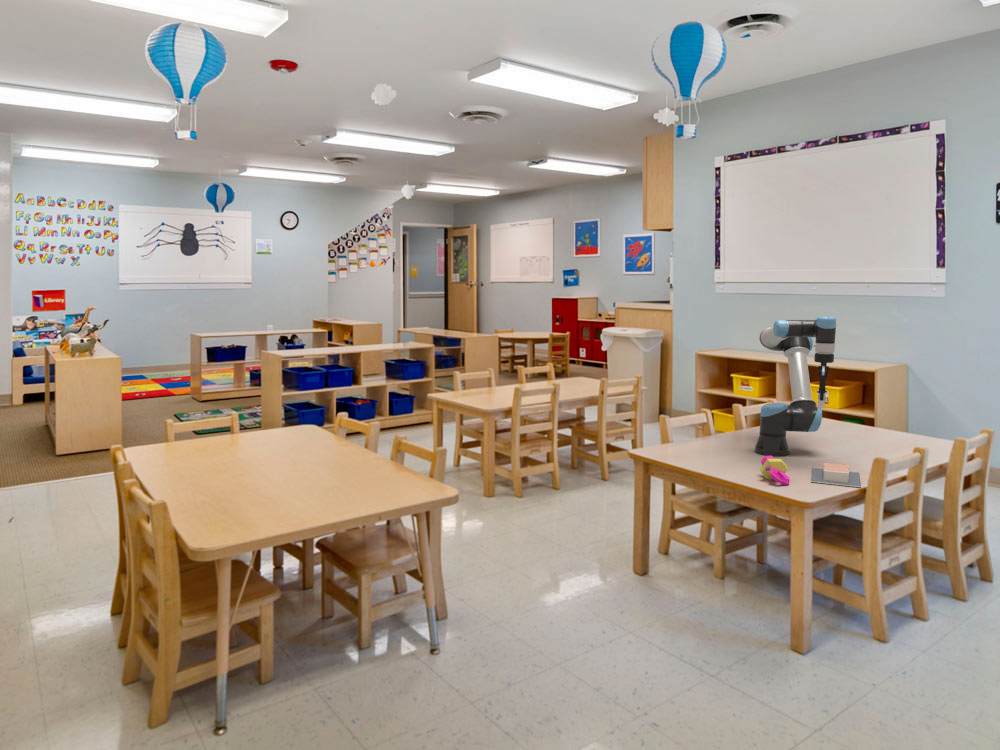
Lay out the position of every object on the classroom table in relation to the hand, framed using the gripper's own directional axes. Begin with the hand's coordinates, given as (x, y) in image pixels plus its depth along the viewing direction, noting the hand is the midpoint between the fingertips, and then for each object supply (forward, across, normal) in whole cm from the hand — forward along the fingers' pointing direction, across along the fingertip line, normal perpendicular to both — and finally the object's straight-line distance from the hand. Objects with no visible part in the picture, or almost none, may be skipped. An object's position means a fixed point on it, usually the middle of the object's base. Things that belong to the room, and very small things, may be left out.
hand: (821, 407), depth 300 cm
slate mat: (+26, +16, +7) cm, 32 cm away
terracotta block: (+24, +10, +7) cm, 27 cm away
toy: (+27, +29, -16) cm, 42 cm away
